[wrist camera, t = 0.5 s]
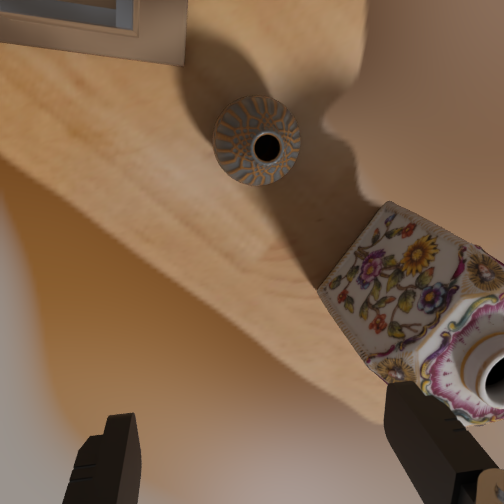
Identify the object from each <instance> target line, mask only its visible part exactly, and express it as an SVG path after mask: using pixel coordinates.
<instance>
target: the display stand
mask: <svg viewBox="0 0 504 504" xmlns="http://www.w3.org/2000/svg"><path fill="white" fill-rule="evenodd" d="M187 9H188V0H0V42H2V43H9V44H17V45H24V46H32V47H39V48H47V49H54V50H62V51H69V52H77V53H84V54H92V55H99V56H107V57H114V58H122V59H129V60H137V61H144V62H152V63H159V64H167V65H174V66H182V67H184V60H185V43H186V26H187Z"/></svg>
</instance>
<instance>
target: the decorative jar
mask: <svg viewBox="0 0 504 504" xmlns="http://www.w3.org/2000/svg"><path fill="white" fill-rule="evenodd" d="M317 293H318V295H319V297H320V299H321V300H322V302H323V304H324V305H325V307H326V308H327V310H328V312H329V313H330V315H331V316H332V317H333V319H334V321H335V322H336V323H337V325H338V326H339V328H340V329H341V330H342V332H343V333H344V335H345V336H346V337H347V339H348V340H349V342H350V343H351V345H352V346H353V347H354V349H355V350H356V352H357V353H358V355H359V356H360V357H361V359H362V360H363V361H364V363H365V365H366V366H367V367H368V368H369V370H371V371H372V372H374V373H375V374H376V375H377V376H378V377H379V378H381V379H382V380H383V381H384V382H385V383H386V384H389V383H395V382H403V381H414V382H415V383H416V384H417V386H418V387H419V388H420V389H421V391H422V392H423V393H424V395H425V396H427V395H433V396H434V397H436V398H437V399H439V400H440V401H442V402H443V403H445V404H446V405H447V406H448V407H449V408H450V409H451V411H452V412H453V413H454V414H455V415H456V417H457V419H458V420H460V421H461V423H462V424H463V425H464V426H465V427H468V426H483V425H485V424H487V423H492V422H496V421H500V420H504V264H503V263H502V262H500V261H498V260H497V259H495V258H493V257H492V256H491V255H489V254H488V253H486V252H485V251H484V250H483V249H482V248H481V247H480V246H478V245H474V244H472V243H469V242H467V241H465V240H464V239H462V238H460V237H458V236H456V235H454V234H453V233H451V232H449V231H447V230H445V229H443V228H442V227H440V226H438V225H436V224H434V223H433V222H431V221H429V220H427V219H425V218H423V217H421V216H419V215H417V214H416V213H414V212H411V211H410V210H407V209H405V208H403V207H401V206H399V205H397V204H395V203H393V202H392V201H387V202H386V203H385V204H384V205H383V206H382V207H381V208H380V210H379V211H378V212H377V214H376V215H375V216H374V218H373V219H372V220H371V222H370V223H369V224H368V225H367V227H366V228H365V229H364V231H363V232H362V233H361V234H360V236H359V237H358V238H357V240H356V241H355V242H354V243H353V244H352V246H351V247H350V248H349V249H348V251H347V252H346V253H345V255H344V256H343V257H342V259H341V260H340V261H339V262H338V264H337V265H336V266H335V268H334V269H333V270H332V272H331V273H330V274H329V275H328V277H327V278H326V279H325V281H324V282H323V283H322V284H321V286H320V287H319V289H318V290H317Z"/></svg>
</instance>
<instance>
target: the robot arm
mask: <svg viewBox="0 0 504 504" xmlns="http://www.w3.org/2000/svg"><path fill="white" fill-rule="evenodd" d="M384 429H385V434H386V437H387V439H388V441H389V443H390V445H391V447H392V449H393V450H394V452H395V454H396V456H397V457H398V459H399V461H400V463H401V464H402V466H403V468H404V469H405V471H406V473H407V475H408V476H409V478H410V480H411V482H412V483H413V485H414V487H415V489H416V490H417V492H418V494H419V495H420V497H421V499H422V501H423V502H424V504H504V470H503V469H499V467H498V466H497V465H496V464H495V462H494V461H493V460H492V459H491V458H490V457H489V455H488V454H487V453H486V452H485V450H484V449H483V448H482V447H481V446H480V444H479V443H478V442H477V441H476V440H475V438H474V437H473V436H472V435H471V434H470V432H469V431H467V430H466V428H465V426H464V425H463V424H462V423H461V421H460V420H458V419H457V417H456V415H455V414H454V413H453V412H452V411H451V409H450V408H449V407H448V406H447V405H446V404H445V403H443V402H442V401H440V400H439V399H437V398H436V397H434V396H433V395H427V396H425V395H424V393H423V392H422V391H421V389H420V388H419V387H418V386H417V384H416V383H415V382H414V381H403V382H395V383H389V384H388V386H387V392H386V402H385V412H384ZM140 479H141V449H140V443H139V437H138V431H137V424H136V418H135V414H134V413H126V414H117V415H110V416H108V418H107V422H106V426H105V430H104V434H103V435H95V436H90V437H89V438H88V439H87V441H86V442H85V443H84V444H83V446H82V447H81V448H80V449H79V451H78V454H77V457H76V460H75V464H74V469H73V470H72V474H71V477H70V482H69V483H68V486H67V490H66V493H65V496H64V499H63V503H62V504H137V503H138V494H139V487H140Z"/></svg>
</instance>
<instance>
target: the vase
mask: <svg viewBox="0 0 504 504" xmlns="http://www.w3.org/2000/svg"><path fill="white" fill-rule="evenodd" d="M299 149H300V132H299V128H298V125H297V122H296V120H295V118H294V116H293V115H292V113H291V112H290V111H289V110H288V109H287V108H286V107H285V106H284V105H283V104H282V103H280V102H279V101H277V100H275V99H273V98H270V97H266V96H260V95H252V96H246V97H243V98H240V99H238V100H236V101H234V102H232V103H231V104H230V105H228V106H227V107H226V108H225V109H224V110H223V112H222V113H221V114H220V116H219V117H218V119H217V121H216V124H215V127H214V130H213V150H214V154H215V157H216V159H217V161H218V163H219V165H220V166H221V168H222V169H223V170H224V171H225V172H226V173H227V174H228V175H229V176H230V177H231V178H233V179H234V180H236V181H238V182H240V183H243V184H247V185H253V186H260V185H266V184H270V183H273V182H275V181H277V180H279V179H280V178H282V177H283V176H284V175H285V174H286V173H288V171H289V170H290V169H291V168H292V166H293V165H294V163H295V161H296V159H297V157H298V154H299Z"/></svg>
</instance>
